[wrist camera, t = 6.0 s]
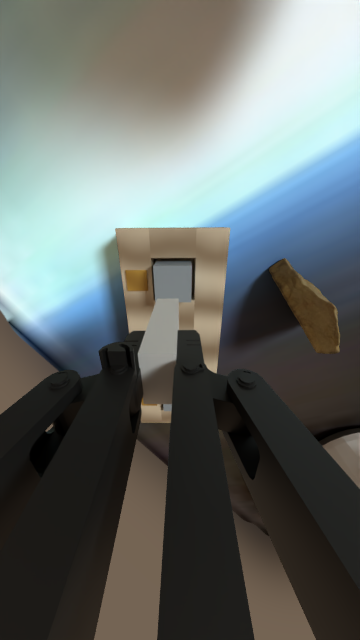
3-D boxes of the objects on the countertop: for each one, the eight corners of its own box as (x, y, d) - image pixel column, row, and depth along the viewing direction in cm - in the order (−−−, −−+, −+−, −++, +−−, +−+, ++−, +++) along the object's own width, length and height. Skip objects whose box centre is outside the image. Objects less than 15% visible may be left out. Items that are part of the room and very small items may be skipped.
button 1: (156, 260, 23) (153, 265, 20) (190, 260, 23) (191, 265, 20) (158, 293, 25) (155, 302, 22) (190, 293, 25) (191, 302, 22)
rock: (250, 268, 24) (260, 342, 27) (335, 258, 17) (336, 359, 20) (296, 251, 29) (300, 314, 32) (375, 238, 22) (371, 320, 25)
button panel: (125, 228, 24) (114, 228, 20) (222, 227, 24) (230, 227, 20) (145, 403, 37) (141, 423, 33) (208, 403, 37) (212, 424, 33)
